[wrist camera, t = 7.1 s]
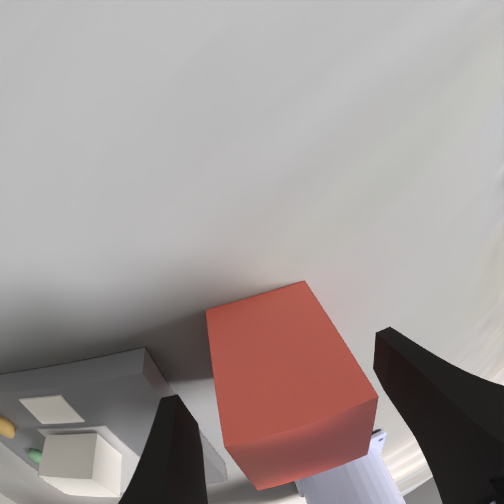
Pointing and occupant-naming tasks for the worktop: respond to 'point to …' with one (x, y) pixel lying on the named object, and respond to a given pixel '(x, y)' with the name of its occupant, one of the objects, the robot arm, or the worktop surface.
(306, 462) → the block
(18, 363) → the worktop surface
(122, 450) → the breaker panel
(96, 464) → the block
